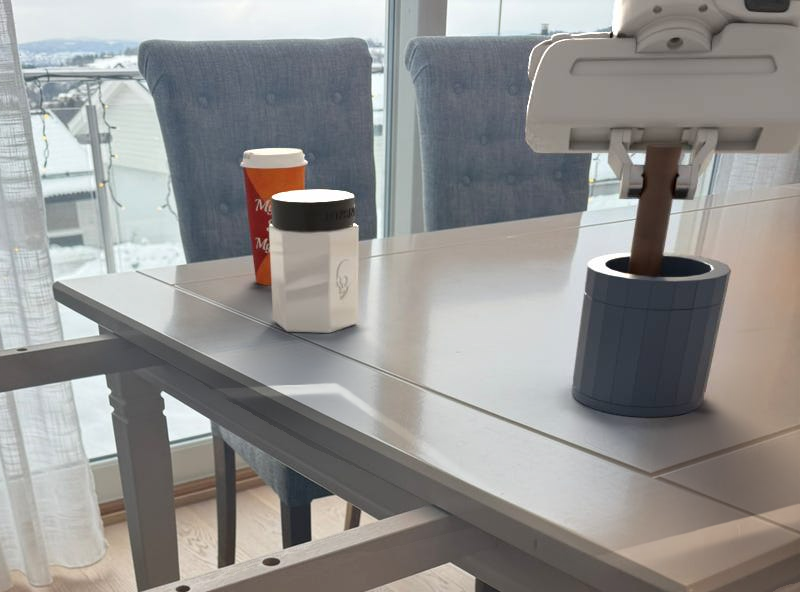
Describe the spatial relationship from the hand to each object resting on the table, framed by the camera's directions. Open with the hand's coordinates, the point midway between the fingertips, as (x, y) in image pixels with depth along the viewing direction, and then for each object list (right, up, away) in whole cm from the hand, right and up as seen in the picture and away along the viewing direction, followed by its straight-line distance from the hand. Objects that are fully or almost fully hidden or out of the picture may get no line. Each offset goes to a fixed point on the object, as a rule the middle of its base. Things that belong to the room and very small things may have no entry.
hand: (657, 194), depth 68 cm
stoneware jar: (+1, -13, +8) cm, 15 cm away
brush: (0, -10, +7) cm, 12 cm away
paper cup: (-30, +11, +45) cm, 55 cm away
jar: (-25, 0, +28) cm, 38 cm away
